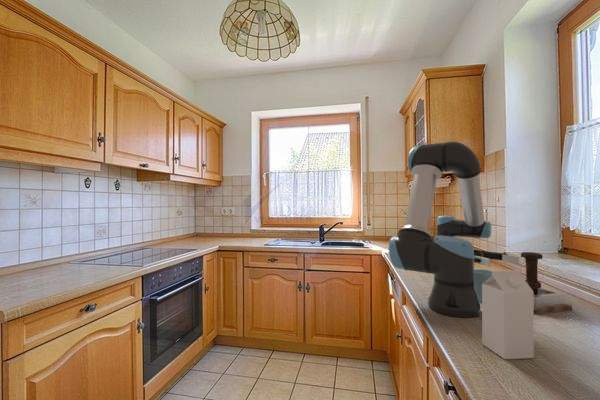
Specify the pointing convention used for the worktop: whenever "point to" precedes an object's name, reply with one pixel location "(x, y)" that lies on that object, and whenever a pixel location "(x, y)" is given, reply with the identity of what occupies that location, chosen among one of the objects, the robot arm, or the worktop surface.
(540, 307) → the hinge base
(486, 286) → the milk carton
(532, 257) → the bolt
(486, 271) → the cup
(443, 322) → the worktop surface
